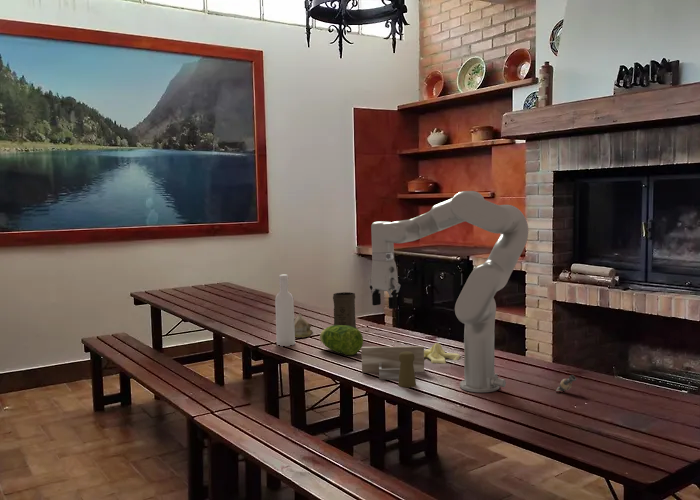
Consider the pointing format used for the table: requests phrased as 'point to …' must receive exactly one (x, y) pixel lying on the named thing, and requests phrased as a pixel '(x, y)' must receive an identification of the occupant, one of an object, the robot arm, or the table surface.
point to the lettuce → (342, 339)
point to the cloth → (439, 354)
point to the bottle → (284, 314)
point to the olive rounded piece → (406, 370)
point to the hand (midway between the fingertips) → (384, 306)
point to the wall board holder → (390, 360)
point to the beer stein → (344, 309)
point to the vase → (566, 383)
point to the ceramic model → (301, 327)
